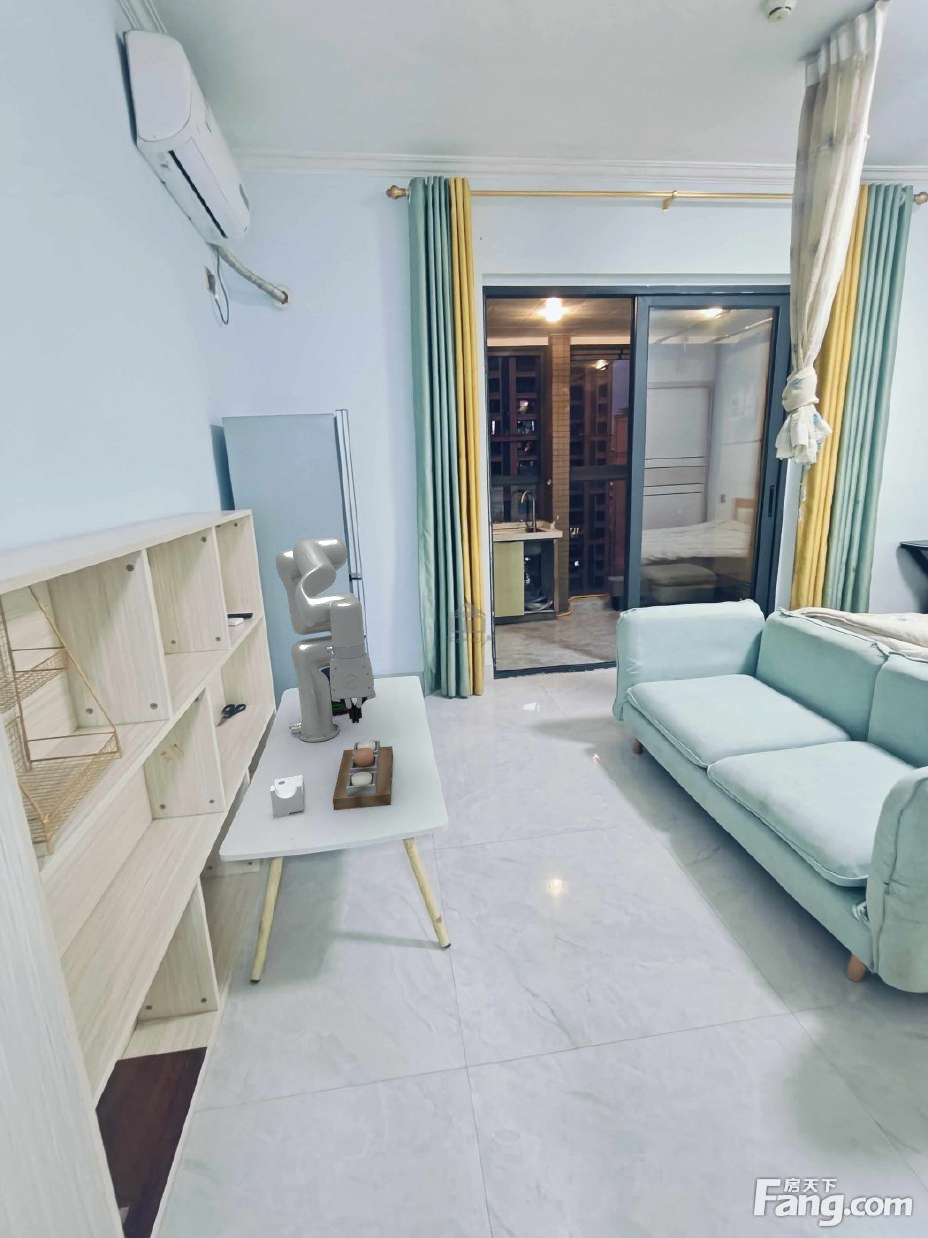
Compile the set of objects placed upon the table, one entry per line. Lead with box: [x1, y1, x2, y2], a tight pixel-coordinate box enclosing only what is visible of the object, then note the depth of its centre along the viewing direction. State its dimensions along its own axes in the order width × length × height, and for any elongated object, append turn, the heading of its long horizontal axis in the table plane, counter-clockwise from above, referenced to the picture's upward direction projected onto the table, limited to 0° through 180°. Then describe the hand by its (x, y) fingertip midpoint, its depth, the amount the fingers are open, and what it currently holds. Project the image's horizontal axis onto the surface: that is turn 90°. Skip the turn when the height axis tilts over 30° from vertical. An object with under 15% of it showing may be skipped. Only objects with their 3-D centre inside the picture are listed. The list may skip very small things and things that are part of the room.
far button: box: [357, 740, 376, 751], centre depth 163 cm, size 5×5×3 cm
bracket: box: [269, 774, 305, 819], centre depth 146 cm, size 13×7×8 cm, turn 15°
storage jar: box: [320, 666, 349, 717], centre depth 201 cm, size 10×10×15 cm
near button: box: [351, 772, 372, 786], centre depth 146 cm, size 5×5×3 cm
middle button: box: [354, 748, 374, 767], centre depth 154 cm, size 5×5×3 cm
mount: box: [332, 739, 394, 811], centre depth 155 cm, size 14×26×6 cm, turn 6°
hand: (356, 721), depth 142 cm, fingers closed
